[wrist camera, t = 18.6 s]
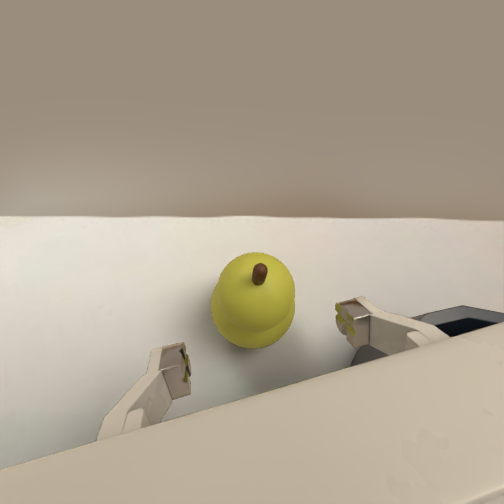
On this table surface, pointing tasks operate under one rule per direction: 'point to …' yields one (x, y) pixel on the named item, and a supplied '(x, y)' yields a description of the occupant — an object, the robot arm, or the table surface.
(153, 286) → the table surface
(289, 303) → the pear
